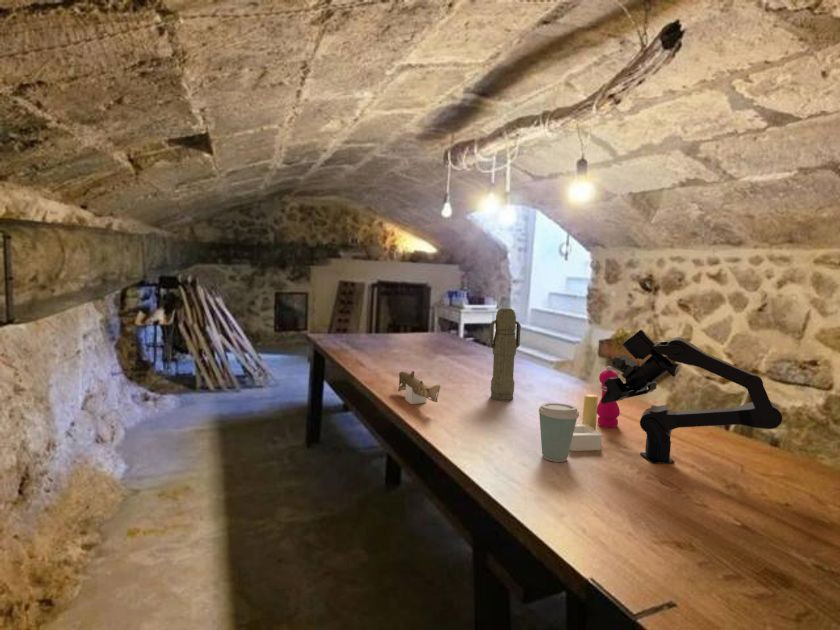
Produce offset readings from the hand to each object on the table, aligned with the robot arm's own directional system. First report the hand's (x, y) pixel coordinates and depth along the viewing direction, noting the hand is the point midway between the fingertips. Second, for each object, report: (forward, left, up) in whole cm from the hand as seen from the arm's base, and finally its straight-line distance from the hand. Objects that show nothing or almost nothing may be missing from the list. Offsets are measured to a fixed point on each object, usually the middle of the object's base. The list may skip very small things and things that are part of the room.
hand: (611, 399), depth 146 cm
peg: (+6, +3, -13) cm, 15 cm away
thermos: (+47, +19, -13) cm, 53 cm away
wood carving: (+42, +53, -13) cm, 69 cm away
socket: (-1, +10, -13) cm, 16 cm away
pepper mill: (+15, -8, -13) cm, 22 cm away
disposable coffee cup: (-10, +21, -13) cm, 27 cm away
